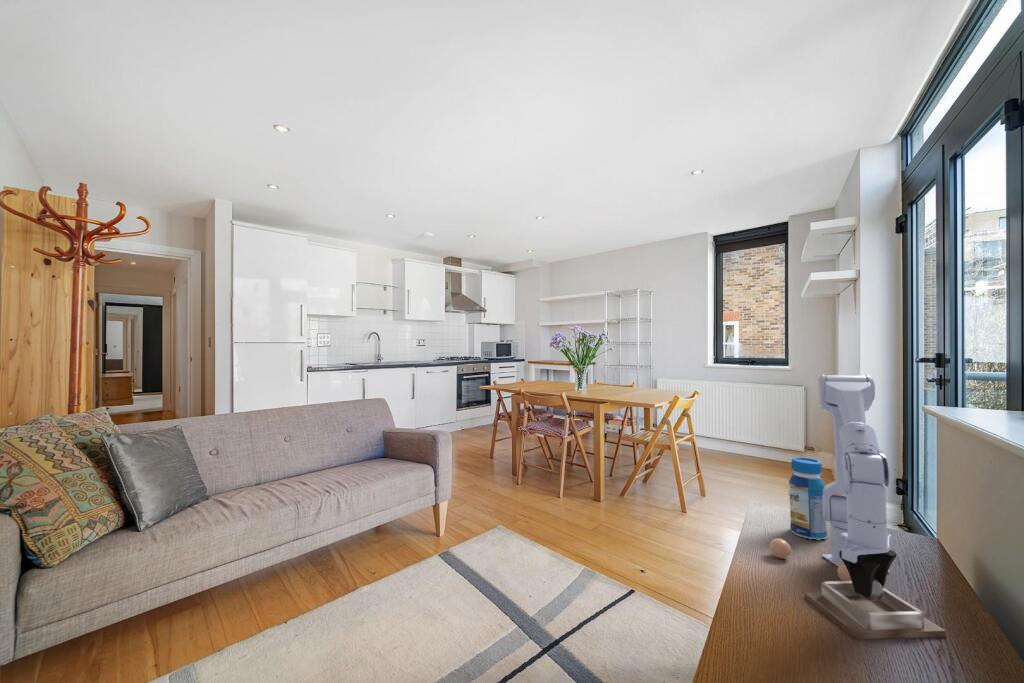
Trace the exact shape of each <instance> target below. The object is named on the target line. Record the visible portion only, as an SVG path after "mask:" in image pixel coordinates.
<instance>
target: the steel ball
mask: <svg viewBox="0 0 1024 683" xmlns="http://www.w3.org/2000/svg"><path fill="white" fill-rule="evenodd" d="M883 588H884V587H882V585H881V584H880V582H879V581H878V580H877V579H875V578H874V579H873V586H872V593H871V596H870V597H869V598H868V597H865V596H863V595H860V594H858V593H857V594H858V595H859V596H860V597H862V598H864V599H866V600H868V601H878V600H880V599H881V598H882V597H883V593H884V591H883Z"/></svg>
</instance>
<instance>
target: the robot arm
mask: <svg viewBox="0 0 1024 683" xmlns="http://www.w3.org/2000/svg"><path fill="white" fill-rule="evenodd" d="M818 396H819V405H820V407H821V409H822V410H826V411H828V412H829V414H830V415H831V418H832V421H833V422H832V424H833V425H832V426H833V442H834V443H833V444H834V458H835V459H834V460H835V477H836V478H835V480H834V481H832V482H830V483H828V484H825V487H824V489H823V496H822V506H823V516H824V518H825V519H826V522H829V523H830V545H831V546H830V547H831V549H830V550H831V553H825V554H824V553H823V554H821V556H822V558H824V559H826V561H828V562H830V563H831V564H834V565H835V566H837V568H838V567H839V566H840V565H841V564H843V563H844V564H845V566H846V568H847V570H848V572H849V575H850V577H851V581H852V584H853V587H854V590H855V592H856V593H858V594H860V595H863V596H865V597H868V598H869V597H870V596H871V593H872V586H873V579H874V578H875V579H877V580H878V581H879V582H880V584H881V585H882V587H883V588H884V587H885V584H886V580H887V577H888V573H890V572H891V571H890V567H891V565H892V564H893V562H894V561H895V559H896V558H897V554H898V553H897V552H896V551H893V550H892V549H890V546H892V545H893V539H892V534H889V533H888V520H887V516H888V514H887V491H886V490H887V489H886V488H888V487H889V486H890V482H891V471H890V466H889V462H888V458H887V457H886V455H885V453H884V451H883V450H880V446H879V441H878V437H877V434H876V431H875V429H874V428H873V427H872V426H871V425H869V424H867V422H866V419H867V418H866V412H867V411H869V410H870V408H871V407H872V404H873V402H874V401H875V398H876V385H875V380H874V377H872V376H871V375H869V374H866V375H847V374H846V375H841V374H840V375H839V374H838V375H836V374H835V375H833V374H832V375H831V374H830V375H829V374H827V375H826V374H820V375H819V377H818ZM884 485H885V486H884Z"/></svg>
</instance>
